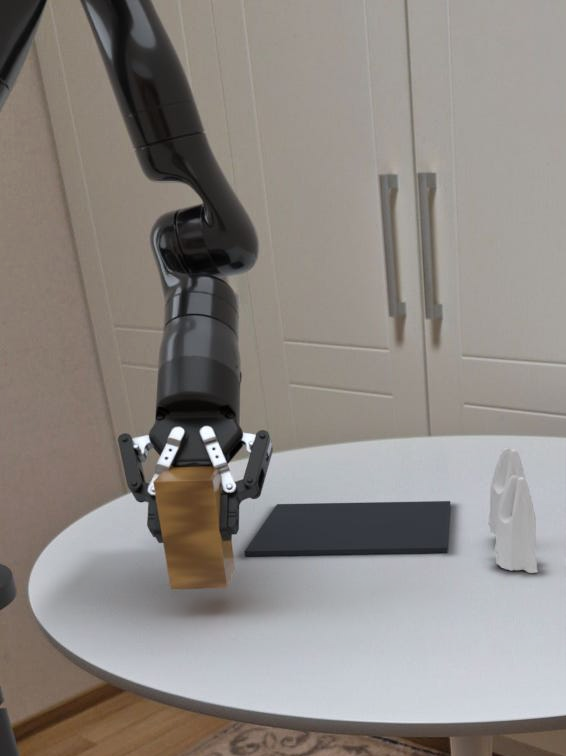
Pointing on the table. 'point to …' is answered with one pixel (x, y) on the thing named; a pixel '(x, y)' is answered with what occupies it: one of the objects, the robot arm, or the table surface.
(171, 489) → the oak block
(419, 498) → the table surface
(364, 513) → the rubber mat
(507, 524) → the shaker set
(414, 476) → the table surface
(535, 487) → the table surface
